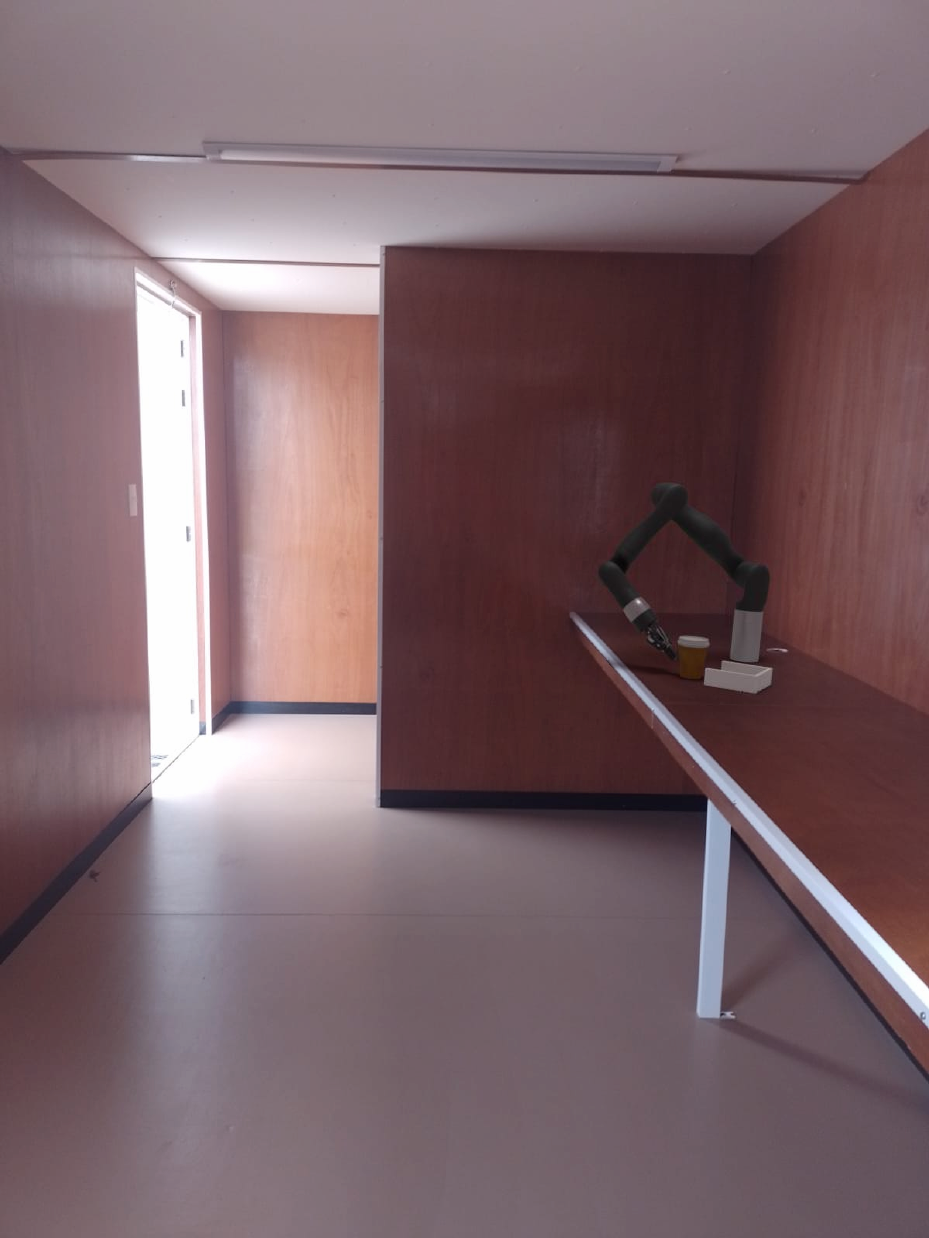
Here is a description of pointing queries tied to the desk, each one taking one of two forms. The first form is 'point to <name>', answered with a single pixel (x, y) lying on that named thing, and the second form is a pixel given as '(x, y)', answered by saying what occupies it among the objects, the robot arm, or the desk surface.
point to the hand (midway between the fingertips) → (674, 658)
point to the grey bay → (739, 677)
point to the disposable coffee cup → (692, 656)
